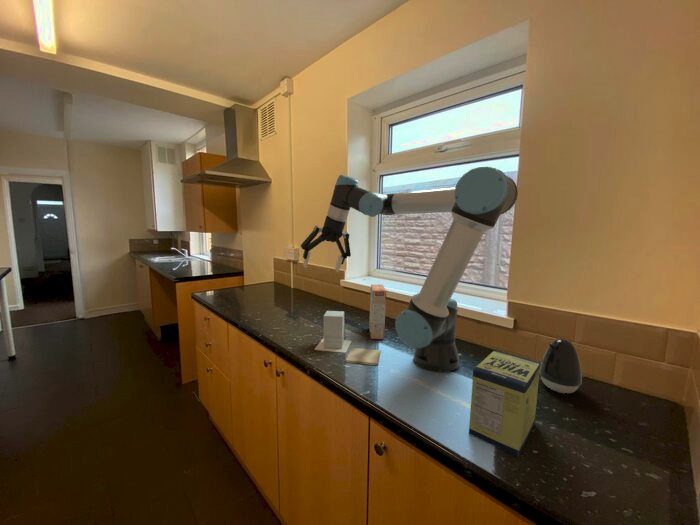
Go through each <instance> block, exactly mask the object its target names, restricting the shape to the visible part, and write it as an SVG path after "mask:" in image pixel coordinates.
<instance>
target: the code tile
mask: <svg viewBox="0 0 700 525" xmlns="http://www.w3.org/2000/svg"><path fill="white" fill-rule="evenodd" d="M352 342H353V340H348V339H344V343H343V347H342V348H324V337H323V338H322V339H321V340H320V341H319V343H318V344H317V345H316V346H315V348H314V350H315V351H322V352H332V353H333V352H334V353H340V354H341V353H344V354H346V353H347V351H348V350H349V348H350V346H351V343H352Z"/></svg>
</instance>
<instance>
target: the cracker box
mask: <svg viewBox="0 0 700 525" xmlns="http://www.w3.org/2000/svg"><path fill="white" fill-rule="evenodd" d="M369 299H370V303H369V321H368V322H369V323H368V324H369V325H368V326H369V329H368V330H369V335H370V339H371V340H385V326H386V325H385V323H386V322H385V321H386V304H387V289H386V288H385V286H384V284H371V285H370V298H369Z"/></svg>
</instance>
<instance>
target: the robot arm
mask: <svg viewBox="0 0 700 525" xmlns="http://www.w3.org/2000/svg"><path fill="white" fill-rule="evenodd" d="M358 184H359V180H358V179H356V178H354V177H353V176H352V177H351V176H349V175H345V174H339V176H338V177H337V179H336V182H335V185H334V188H333V191H332V192H333V193H332V196H331V199H330V203H329V207H328V210H327V213H326V214H327V215H326V216H325V219H324V223H323V227H319V226H318V225H314V227H313V230H312V232H311V233H310V234H309V235H308V236H307V237H306V239H305V240H303V242H302V243H301V244H300V247H301V249H302V250H304V252H303V253H302V254H303V255H302V258H303V263H302V267H303V268H304V269H307V267H308V264H309V260H310V256H311V250H313V249H314V248H315V247H317V246H318V245H319V244H321V243H322V242H325V241H326V242H331V243H335V244H336V245H337V247H338V248H337V249H338V250H339V252H340V254H338V258H337V260H336V264H335V267H334V270H335V271H336V273H339V272H340V269H341V265H343V264H344V263H345V259H347V258H348V257H349V258H350V257H351V255H352V252H351V247H350V246H351V245H350V233H349V232H347V231H345V232H343V231H344V229H345V227H346V226H345V225H346V221H347V220H348V216H349V212H350V209H353V210H356V211H357V212H360V213H361V214H362V215H365V216H369V217H371V218H374V217H376V216H378V215H384V216H395V215H404V214H405V215H406V214H408V215H409V214H428V213H430V214H431V213H432V214H433V213H451V216H452V218H453V219H452V222H451V224H450V225H449V226H450V227H449V229H448V231H447V233H446V235H445V238H444V239H443V242H442V244H441V246H440V248H439V250H438V253H437V255H436V257H435V259H434V261H433V263H432V265H431V268H430V270H429V272H428V273H427V276H426V278H425V280H424V283H423V284H422V287H421V288H420V291H419V292H418V293H416V294H413V295H412V296H411V299H410V300H409V303H408V305H407V307H406V309H404V310H402V311H401V312H400V313H399V314H398V315H397V316H396V318H395V324H394V326H395V331H396V333H397V336H398V338H399V339H400V341H401V342H403V343H404V344H405V345H406V346H407V347H410V348H412V349H415V350H414V352H413V361H415V362H414V363H415V364H416V365H417V364H418V365H417V366H419V367H420V366H421V367H420V368H422V367H423V369H426V370H429V371H432V370H433V371H432V372H437V371H449V372H453V371H452V370H454V371H455V369H456V370H458V369H459V367H460V356H459V353H458V349H457V345H456V334H457V321H458V320H457V318H458V311H459V310H458V302H457V301H456V299H453V298H452V296H453V295H454V292H455V290H456V288H457V287H458V286H459V283H460V281H461V279H462V277H463V275H464V273H465V271H466V269H467V267H468V265H469V264H470V261H471V259H472V257H473V255H474V253H475V251H476V249H477V248H478V245H479V243H480V241H482V237H483V235H484V234H485V232H486V231H489V230H492V229H494V228H495V225H496V224H497V222H498V221H499V220H498V219H499V218H500V217H501V215H503V214H505V213H507V212H508V211H510V210H511V209H512V208H513V207H514V205H516V202H517V200H518V196H519V189H518V186H517V184H516V182H515V181H514V179H512V178H511V177H510V176H508V175H507V174H505V173H504V172H503V171H502V170H500V169H497V168H496V167H491V166H477V167H473V168H471V169H469V170H468V171H466V172H465V173H463V174H462V175H461V176H460V178H459V179H458V181H457V183H456V184H455V187H450V188H449V187H447V188H438V189H436V188H435V189H430V190H429V189H427V190H416V191H405V192H404V191H403V192H396V193H381V192H376V191H372V190H367V189H364V188H361V187H359V186H358ZM320 233H321V234H320ZM318 234H319V236H318ZM317 236H318V237H317ZM340 238H343V242H344V243H343V244H344V248H343V245H342V242H341V240H340ZM458 366H459V367H458Z"/></svg>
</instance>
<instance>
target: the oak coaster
mask: <svg viewBox="0 0 700 525" xmlns="http://www.w3.org/2000/svg"><path fill="white" fill-rule="evenodd" d="M381 352H382V351H381V350H379V349H371V348H368V349H367V348H361V347H360V348H359V347H358V348H357V347H351V348H350V350H349V353H348V354H347V357H346V358H345V362H346V363H349V364H351V363H352V364H358V365H359V364H360V365H368V366H379V362H380V358H381Z"/></svg>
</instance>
